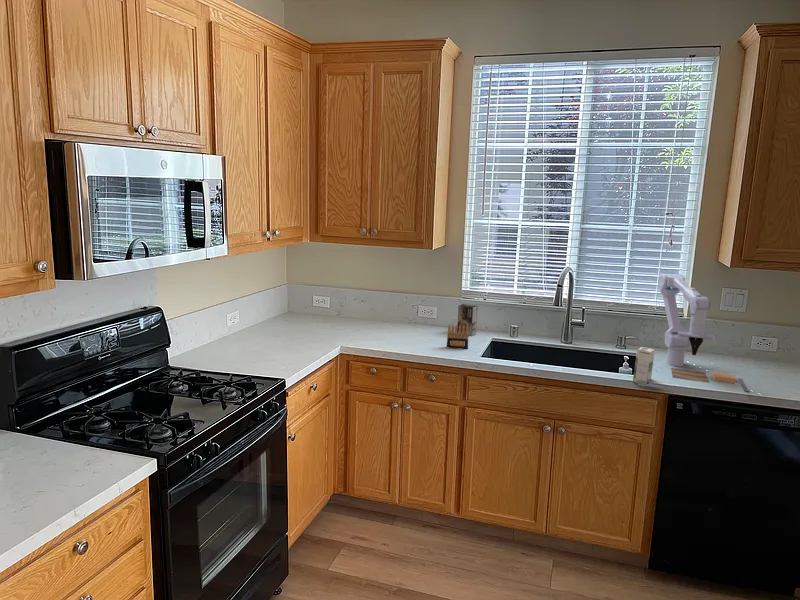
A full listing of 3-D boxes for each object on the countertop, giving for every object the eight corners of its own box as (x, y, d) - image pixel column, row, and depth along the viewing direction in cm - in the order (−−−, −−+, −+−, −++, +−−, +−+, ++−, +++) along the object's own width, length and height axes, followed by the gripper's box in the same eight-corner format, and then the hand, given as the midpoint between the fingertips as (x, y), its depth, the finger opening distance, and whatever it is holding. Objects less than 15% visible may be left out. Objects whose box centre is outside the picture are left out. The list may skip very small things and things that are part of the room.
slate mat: (706, 375, 259) (706, 374, 259) (741, 379, 254) (742, 378, 253) (710, 386, 242) (710, 385, 242) (748, 392, 237) (748, 391, 237)
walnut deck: (670, 371, 263) (670, 367, 263) (705, 375, 258) (705, 372, 258) (672, 380, 249) (672, 377, 248) (708, 385, 243) (709, 382, 243)
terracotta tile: (712, 378, 253) (712, 371, 252) (732, 381, 250) (733, 374, 249) (713, 382, 246) (714, 376, 246) (735, 385, 244) (736, 378, 243)
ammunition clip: (446, 347, 291) (447, 324, 289) (446, 346, 293) (447, 323, 291) (467, 349, 290) (469, 325, 287) (467, 348, 291) (469, 324, 289)
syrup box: (636, 379, 250) (640, 346, 247) (651, 382, 246) (655, 349, 243) (632, 382, 245) (636, 348, 243) (647, 385, 242) (650, 351, 239)
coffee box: (476, 334, 321) (478, 305, 318) (471, 336, 316) (473, 307, 313) (461, 331, 326) (463, 303, 323) (456, 333, 321) (458, 305, 318)
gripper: (679, 324, 251) (676, 354, 253) (717, 327, 246) (713, 358, 248) (678, 321, 258) (675, 350, 260) (715, 324, 252) (711, 355, 255)
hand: (693, 354), depth 254 cm, fingers closed
